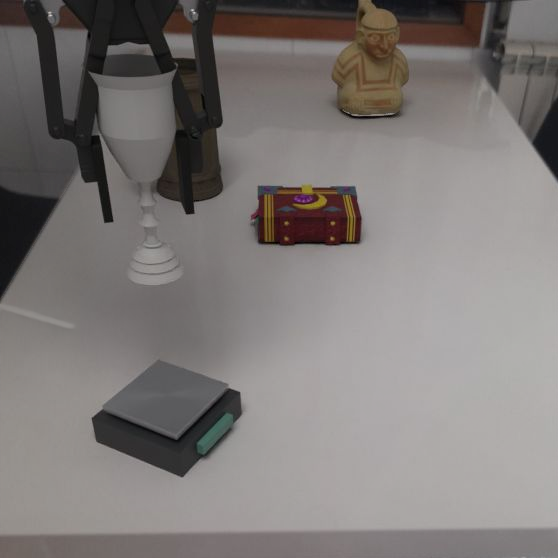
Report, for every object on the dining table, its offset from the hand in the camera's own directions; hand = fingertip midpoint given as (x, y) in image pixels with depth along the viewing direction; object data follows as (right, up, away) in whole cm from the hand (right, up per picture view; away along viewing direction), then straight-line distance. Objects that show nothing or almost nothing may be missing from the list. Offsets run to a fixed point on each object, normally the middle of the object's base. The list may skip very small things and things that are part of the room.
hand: (148, 211), depth 62 cm
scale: (0, -20, +9) cm, 22 cm away
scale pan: (0, -17, +7) cm, 18 cm away
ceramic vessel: (+21, +41, +96) cm, 106 cm away
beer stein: (-11, +14, +55) cm, 58 cm away
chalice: (0, -5, +4) cm, 6 cm away
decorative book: (+11, +6, +46) cm, 48 cm away
